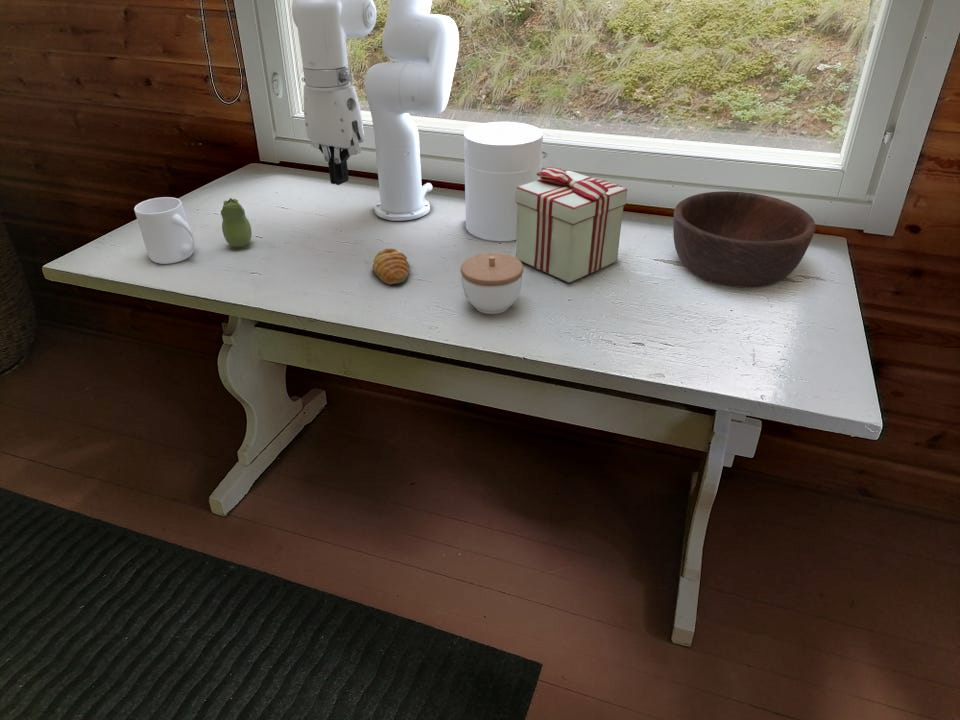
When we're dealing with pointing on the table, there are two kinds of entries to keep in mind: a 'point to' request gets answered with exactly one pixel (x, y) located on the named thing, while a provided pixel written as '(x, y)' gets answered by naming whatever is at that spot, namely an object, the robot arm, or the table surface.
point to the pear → (235, 224)
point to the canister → (498, 175)
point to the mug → (165, 230)
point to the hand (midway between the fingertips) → (339, 182)
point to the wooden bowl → (740, 237)
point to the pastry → (391, 266)
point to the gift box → (568, 223)
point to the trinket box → (492, 281)
